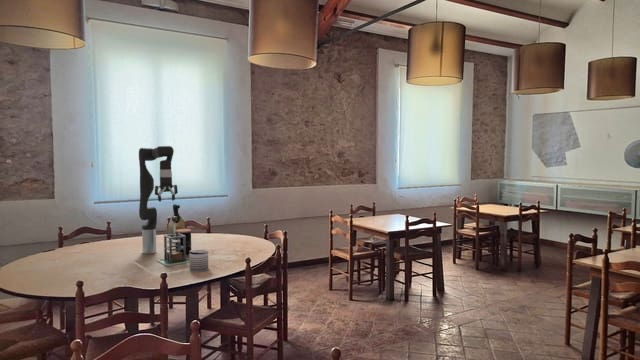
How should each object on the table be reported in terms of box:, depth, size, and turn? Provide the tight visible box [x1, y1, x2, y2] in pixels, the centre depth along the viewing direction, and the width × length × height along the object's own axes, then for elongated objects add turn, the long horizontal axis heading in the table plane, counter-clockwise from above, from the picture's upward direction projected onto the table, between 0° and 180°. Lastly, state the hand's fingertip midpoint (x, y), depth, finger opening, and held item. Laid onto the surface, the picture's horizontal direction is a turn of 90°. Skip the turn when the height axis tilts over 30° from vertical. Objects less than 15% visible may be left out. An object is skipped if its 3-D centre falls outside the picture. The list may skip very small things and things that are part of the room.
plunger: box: [171, 215, 180, 244], centre depth 283 cm, size 7×7×16 cm
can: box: [189, 249, 209, 273], centre depth 270 cm, size 11×11×12 cm
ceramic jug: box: [167, 203, 188, 240], centre depth 355 cm, size 17×15×30 cm
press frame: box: [163, 233, 187, 264], centre depth 284 cm, size 11×11×17 cm
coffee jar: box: [174, 228, 192, 257], centre depth 304 cm, size 11×11×18 cm
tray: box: [156, 256, 190, 267], centre depth 285 cm, size 16×18×2 cm
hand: (166, 201), depth 285 cm, fingers open, 8 cm apart
